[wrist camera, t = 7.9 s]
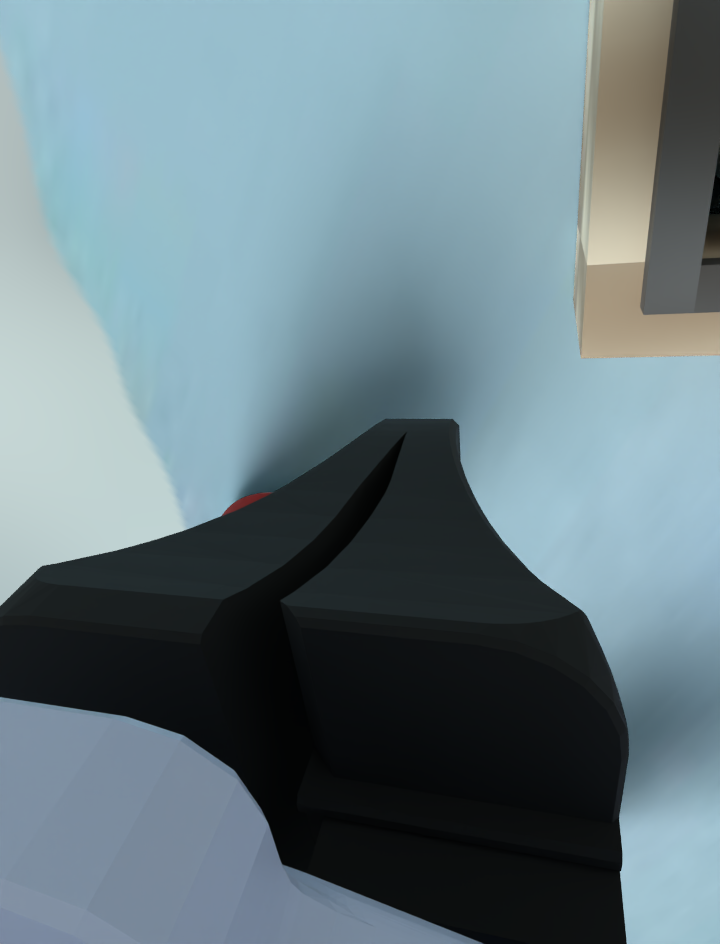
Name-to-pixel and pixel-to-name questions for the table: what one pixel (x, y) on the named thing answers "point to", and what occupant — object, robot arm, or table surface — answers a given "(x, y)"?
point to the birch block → (649, 181)
